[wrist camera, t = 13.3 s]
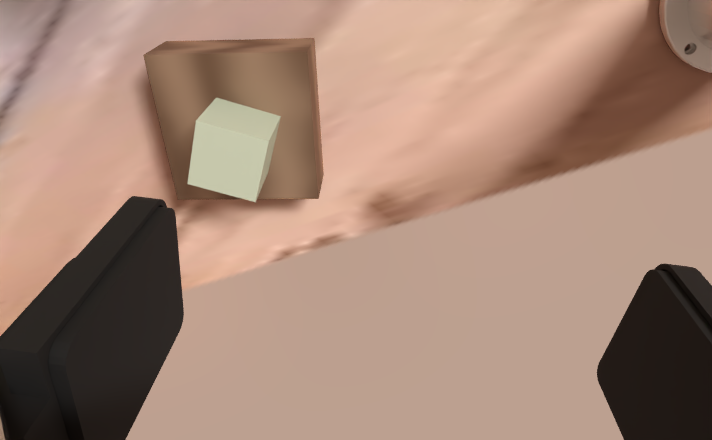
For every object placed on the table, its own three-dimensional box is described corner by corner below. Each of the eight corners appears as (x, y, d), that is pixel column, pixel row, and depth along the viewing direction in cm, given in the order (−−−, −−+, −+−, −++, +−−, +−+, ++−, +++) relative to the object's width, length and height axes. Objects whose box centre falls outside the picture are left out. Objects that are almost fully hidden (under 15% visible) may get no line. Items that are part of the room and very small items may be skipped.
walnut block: (314, 37, 41) (307, 51, 36) (323, 172, 47) (318, 198, 43) (167, 40, 41) (143, 54, 37) (196, 173, 47) (177, 199, 43)
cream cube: (280, 116, 39) (268, 141, 35) (268, 172, 41) (255, 202, 37) (216, 97, 38) (195, 120, 34) (207, 155, 41) (187, 183, 37)
